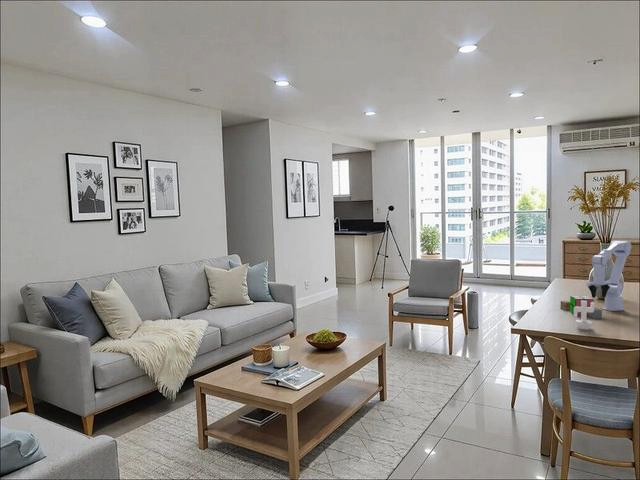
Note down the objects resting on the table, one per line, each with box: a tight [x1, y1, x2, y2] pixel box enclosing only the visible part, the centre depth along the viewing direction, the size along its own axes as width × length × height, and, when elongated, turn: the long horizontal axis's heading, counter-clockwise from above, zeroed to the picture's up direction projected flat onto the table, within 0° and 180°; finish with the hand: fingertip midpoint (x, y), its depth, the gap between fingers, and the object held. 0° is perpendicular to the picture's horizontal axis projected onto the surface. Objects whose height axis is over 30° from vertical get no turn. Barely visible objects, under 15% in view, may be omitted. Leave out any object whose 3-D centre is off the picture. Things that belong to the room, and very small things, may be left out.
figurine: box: [573, 301, 595, 331], centre depth 250 cm, size 7×9×15 cm
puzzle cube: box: [569, 295, 595, 316], centre depth 284 cm, size 10×10×10 cm
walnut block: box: [560, 300, 570, 311], centre depth 297 cm, size 5×5×5 cm
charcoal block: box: [587, 307, 603, 320], centre depth 274 cm, size 5×5×5 cm
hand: (598, 297), depth 285 cm, fingers open, 6 cm apart
